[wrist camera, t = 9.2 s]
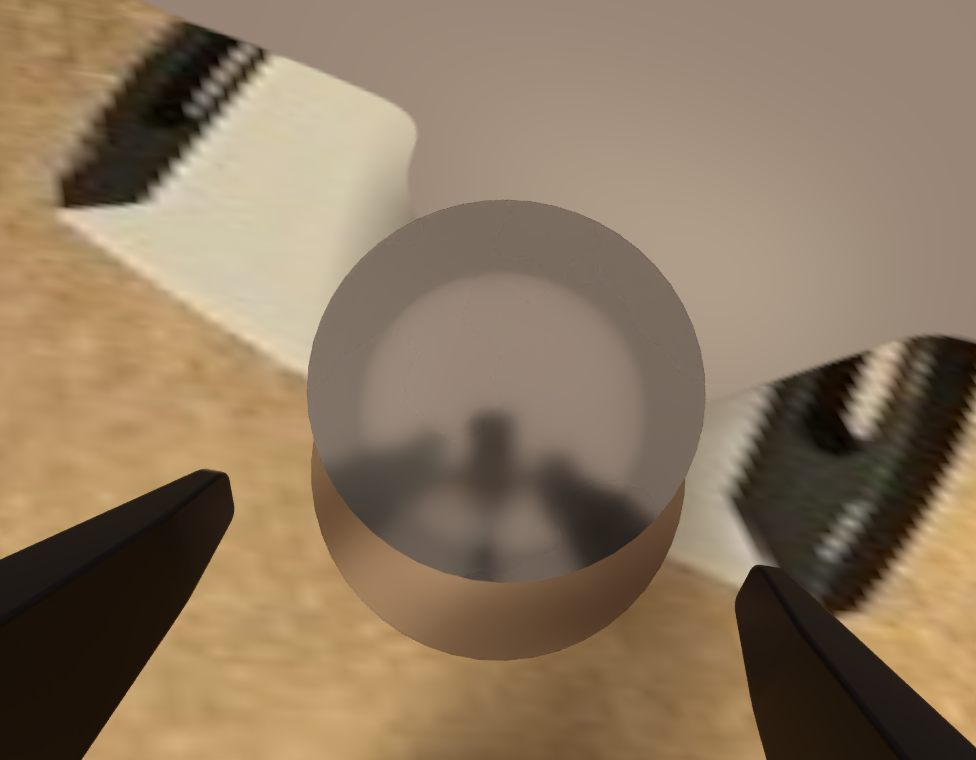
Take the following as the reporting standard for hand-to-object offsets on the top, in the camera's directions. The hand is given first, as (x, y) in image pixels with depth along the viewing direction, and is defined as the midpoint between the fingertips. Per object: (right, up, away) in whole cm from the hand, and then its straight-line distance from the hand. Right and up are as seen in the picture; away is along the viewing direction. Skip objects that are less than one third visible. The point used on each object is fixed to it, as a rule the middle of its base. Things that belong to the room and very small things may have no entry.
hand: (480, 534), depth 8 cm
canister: (0, 0, +9) cm, 9 cm away
